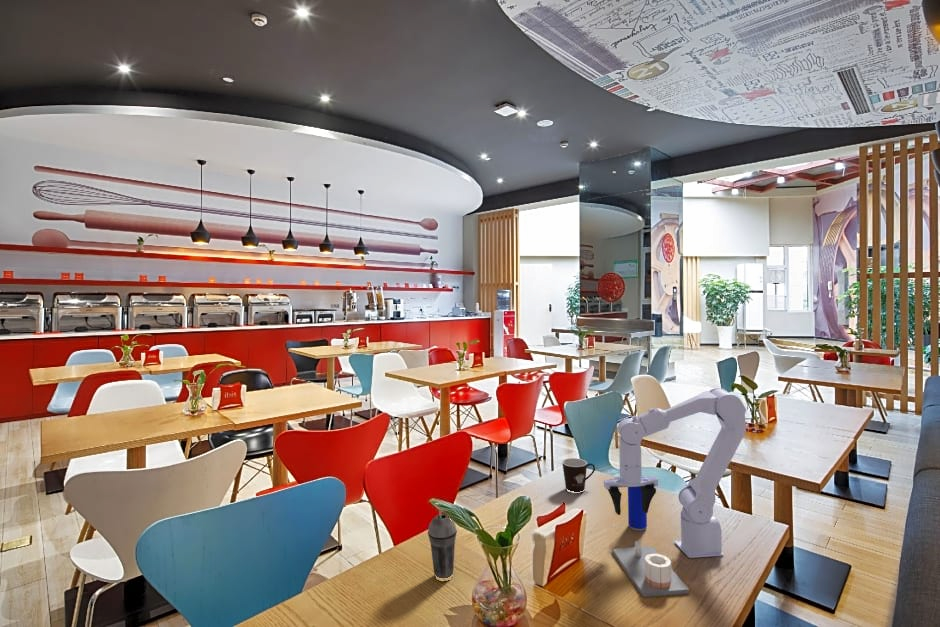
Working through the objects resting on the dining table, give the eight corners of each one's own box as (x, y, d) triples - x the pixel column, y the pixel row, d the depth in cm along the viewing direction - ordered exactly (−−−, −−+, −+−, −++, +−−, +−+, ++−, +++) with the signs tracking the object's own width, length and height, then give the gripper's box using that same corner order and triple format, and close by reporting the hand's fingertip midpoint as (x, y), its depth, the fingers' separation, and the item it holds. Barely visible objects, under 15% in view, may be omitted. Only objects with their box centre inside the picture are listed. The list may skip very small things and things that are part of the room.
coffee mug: (563, 494, 165) (562, 466, 164) (562, 484, 173) (561, 457, 173) (597, 496, 163) (597, 467, 163) (595, 486, 171) (594, 458, 171)
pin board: (612, 552, 127) (612, 536, 127) (651, 549, 128) (651, 533, 128) (643, 597, 109) (642, 578, 108) (689, 593, 109) (689, 574, 109)
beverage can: (648, 531, 138) (647, 481, 137) (629, 530, 139) (628, 480, 138) (645, 523, 143) (644, 474, 142) (627, 522, 144) (626, 473, 143)
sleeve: (661, 572, 116) (660, 552, 116) (676, 585, 111) (675, 564, 111) (640, 575, 115) (640, 555, 115) (654, 589, 110) (654, 568, 109)
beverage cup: (462, 571, 121) (460, 494, 120) (452, 587, 114) (449, 506, 113) (436, 566, 123) (433, 491, 123) (424, 582, 117) (421, 503, 116)
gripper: (649, 457, 134) (650, 504, 135) (599, 460, 133) (600, 507, 134) (661, 466, 127) (662, 515, 128) (608, 469, 126) (609, 519, 127)
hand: (631, 512), depth 130 cm, fingers open, 7 cm apart
